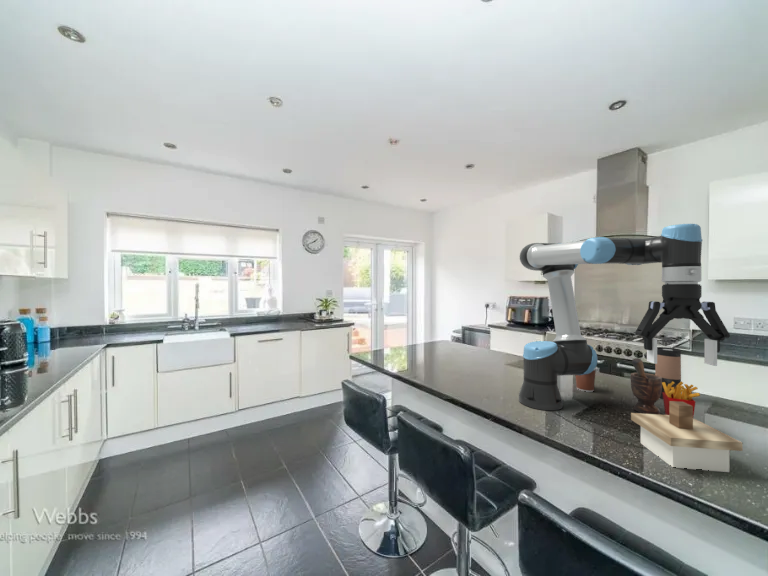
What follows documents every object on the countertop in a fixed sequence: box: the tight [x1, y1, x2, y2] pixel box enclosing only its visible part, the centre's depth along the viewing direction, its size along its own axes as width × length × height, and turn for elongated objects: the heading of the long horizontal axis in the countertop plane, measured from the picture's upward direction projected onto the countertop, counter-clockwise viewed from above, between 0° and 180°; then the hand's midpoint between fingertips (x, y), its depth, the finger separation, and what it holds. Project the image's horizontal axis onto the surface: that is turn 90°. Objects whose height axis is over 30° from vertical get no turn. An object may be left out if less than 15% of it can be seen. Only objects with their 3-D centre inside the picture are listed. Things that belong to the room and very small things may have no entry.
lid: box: [630, 401, 744, 452], centre depth 81 cm, size 15×15×8 cm
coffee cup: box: [574, 366, 598, 393], centre depth 134 cm, size 9×9×12 cm
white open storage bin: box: [640, 426, 730, 473], centre depth 81 cm, size 12×12×6 cm
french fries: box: [662, 380, 701, 418], centre depth 96 cm, size 9×8×15 cm
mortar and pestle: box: [629, 357, 662, 415], centre depth 109 cm, size 12×9×20 cm
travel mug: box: [654, 346, 682, 400], centre depth 123 cm, size 8×8×20 cm
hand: (680, 363), depth 81 cm, fingers open, 13 cm apart
